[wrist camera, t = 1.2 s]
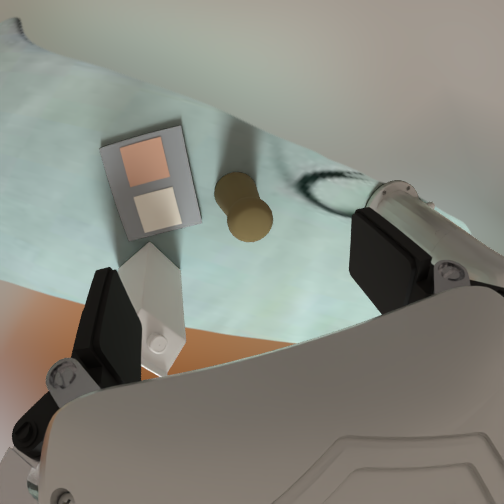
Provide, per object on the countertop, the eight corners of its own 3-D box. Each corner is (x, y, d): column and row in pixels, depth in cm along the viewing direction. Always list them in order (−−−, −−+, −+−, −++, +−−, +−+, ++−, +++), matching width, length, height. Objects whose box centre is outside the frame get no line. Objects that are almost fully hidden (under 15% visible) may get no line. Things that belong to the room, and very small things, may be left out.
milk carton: (149, 294, 47) (147, 391, 32) (118, 267, 44) (99, 364, 28) (181, 270, 46) (189, 367, 31) (149, 240, 43) (140, 334, 27)
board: (180, 124, 35) (180, 125, 34) (201, 220, 43) (202, 223, 42) (100, 147, 34) (98, 149, 33) (129, 238, 42) (128, 242, 41)
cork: (224, 218, 44) (238, 258, 35) (207, 183, 40) (216, 215, 31) (262, 201, 44) (287, 236, 34) (247, 164, 40) (269, 191, 31)
